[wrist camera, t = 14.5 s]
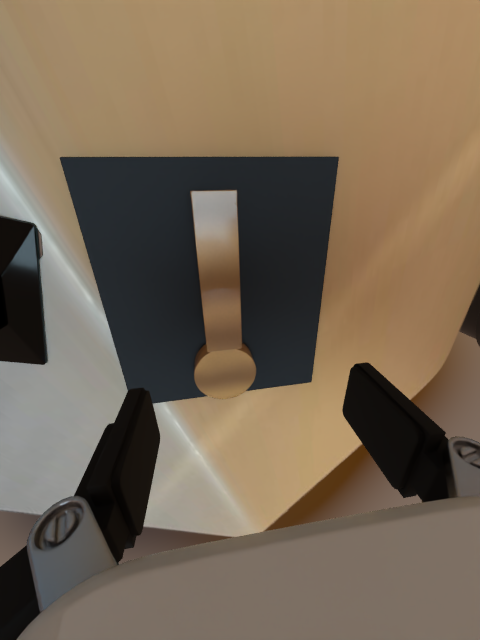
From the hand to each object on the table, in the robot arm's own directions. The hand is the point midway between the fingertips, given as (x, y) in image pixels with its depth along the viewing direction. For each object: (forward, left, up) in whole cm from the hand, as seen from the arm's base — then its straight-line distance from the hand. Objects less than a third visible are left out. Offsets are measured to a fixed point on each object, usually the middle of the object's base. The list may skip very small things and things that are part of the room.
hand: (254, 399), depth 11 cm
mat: (+1, -1, -13) cm, 13 cm away
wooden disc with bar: (+1, 0, -12) cm, 12 cm away
